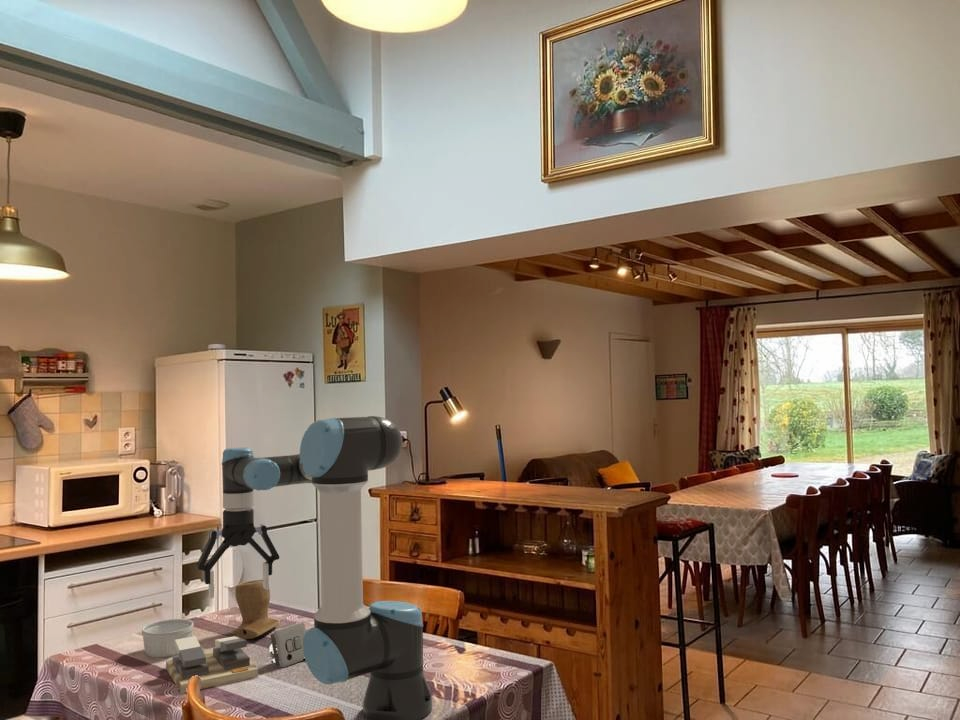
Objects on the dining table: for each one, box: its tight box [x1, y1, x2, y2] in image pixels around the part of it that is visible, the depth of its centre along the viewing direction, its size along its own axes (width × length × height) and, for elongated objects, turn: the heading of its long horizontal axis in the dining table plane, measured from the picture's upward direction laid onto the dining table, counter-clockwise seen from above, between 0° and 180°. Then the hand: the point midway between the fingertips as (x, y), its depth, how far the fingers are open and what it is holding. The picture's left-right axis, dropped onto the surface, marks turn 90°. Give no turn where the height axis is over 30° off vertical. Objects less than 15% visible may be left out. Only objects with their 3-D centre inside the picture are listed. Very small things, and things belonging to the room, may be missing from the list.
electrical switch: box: [270, 622, 307, 668], centre depth 204 cm, size 9×5×9 cm, turn 141°
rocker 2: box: [214, 635, 248, 652], centre depth 200 cm, size 12×5×2 cm, turn 32°
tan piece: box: [232, 579, 281, 640], centre depth 229 cm, size 15×12×15 cm
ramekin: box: [141, 618, 195, 658], centre depth 214 cm, size 13×13×7 cm
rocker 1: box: [175, 635, 206, 668], centre depth 194 cm, size 12×5×2 cm, turn 32°
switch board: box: [165, 647, 259, 694], centre depth 197 cm, size 20×18×4 cm
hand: (239, 592), depth 198 cm, fingers open, 13 cm apart
